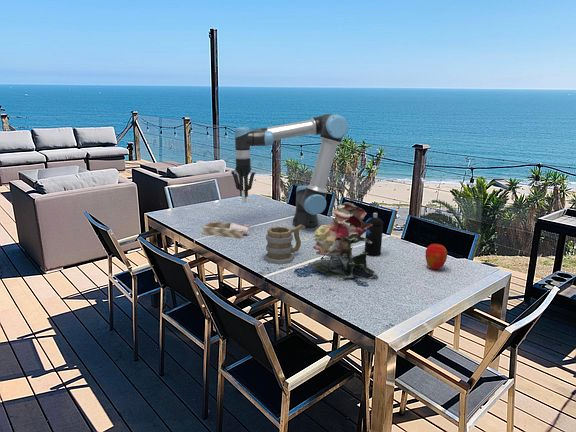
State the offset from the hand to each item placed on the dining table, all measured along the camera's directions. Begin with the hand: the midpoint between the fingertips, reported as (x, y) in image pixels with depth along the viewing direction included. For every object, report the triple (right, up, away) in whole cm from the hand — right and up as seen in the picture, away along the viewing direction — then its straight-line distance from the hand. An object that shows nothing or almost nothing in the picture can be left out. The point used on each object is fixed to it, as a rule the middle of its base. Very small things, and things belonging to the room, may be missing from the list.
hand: (244, 202), depth 231 cm
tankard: (+22, -27, -27) cm, 44 cm away
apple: (+88, -30, -37) cm, 100 cm away
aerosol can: (+64, -25, -20) cm, 71 cm away
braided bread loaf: (-10, -16, +7) cm, 21 cm away
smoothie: (+2, -15, +3) cm, 15 cm away
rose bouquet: (+46, -31, -40) cm, 68 cm away
